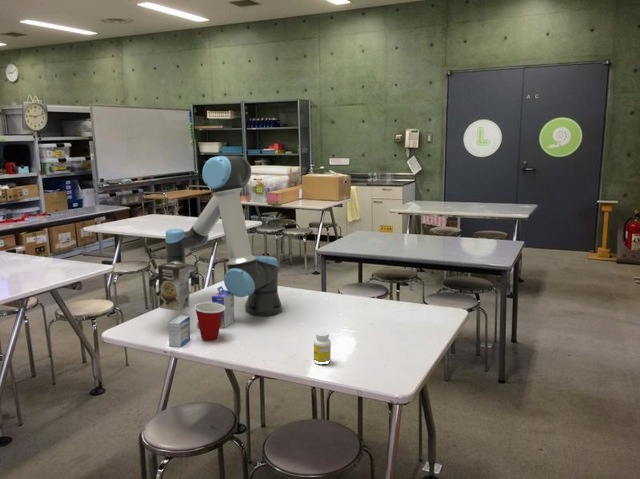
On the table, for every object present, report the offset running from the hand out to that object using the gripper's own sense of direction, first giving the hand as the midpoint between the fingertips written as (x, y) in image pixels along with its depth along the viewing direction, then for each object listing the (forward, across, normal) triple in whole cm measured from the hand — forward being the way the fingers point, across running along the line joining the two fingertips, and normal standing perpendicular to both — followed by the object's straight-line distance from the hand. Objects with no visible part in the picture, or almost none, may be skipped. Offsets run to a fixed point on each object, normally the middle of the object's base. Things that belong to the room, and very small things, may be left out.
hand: (173, 287), depth 188 cm
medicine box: (+9, -2, -18) cm, 20 cm away
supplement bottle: (+34, -47, -18) cm, 60 cm away
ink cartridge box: (-8, -18, -18) cm, 26 cm away
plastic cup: (+6, -12, -18) cm, 23 cm away
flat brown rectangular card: (-7, -10, -18) cm, 22 cm away
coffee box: (-4, 0, -9) cm, 10 cm away
